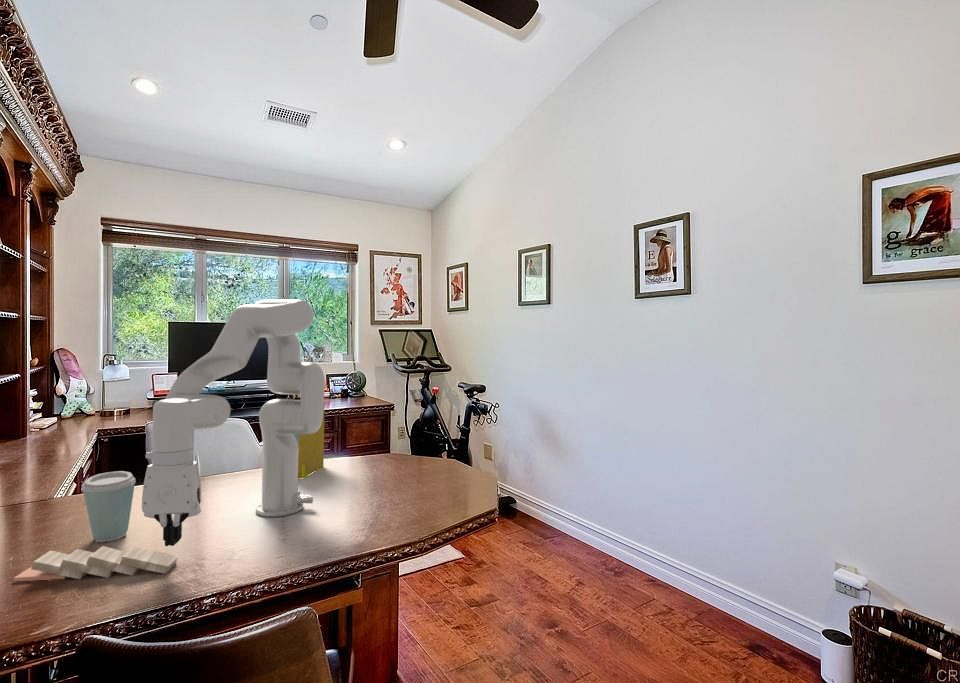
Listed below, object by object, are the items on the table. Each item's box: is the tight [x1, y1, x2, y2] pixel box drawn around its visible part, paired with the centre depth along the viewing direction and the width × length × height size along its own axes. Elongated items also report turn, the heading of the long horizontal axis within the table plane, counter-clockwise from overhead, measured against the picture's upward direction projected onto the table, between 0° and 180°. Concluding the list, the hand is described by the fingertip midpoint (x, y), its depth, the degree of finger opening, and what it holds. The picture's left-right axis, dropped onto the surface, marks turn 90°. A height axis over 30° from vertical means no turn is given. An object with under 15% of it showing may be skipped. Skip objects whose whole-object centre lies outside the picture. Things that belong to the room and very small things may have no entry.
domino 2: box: [31, 550, 88, 580], centre depth 102 cm, size 2×5×9 cm
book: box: [293, 404, 325, 479], centre depth 181 cm, size 17×7×25 cm, turn 168°
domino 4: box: [86, 545, 141, 577], centre depth 104 cm, size 2×5×9 cm
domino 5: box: [120, 546, 179, 575], centre depth 105 cm, size 2×5×9 cm
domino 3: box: [60, 548, 116, 578], centre depth 103 cm, size 2×5×9 cm
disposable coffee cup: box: [81, 470, 137, 543], centre depth 121 cm, size 11×11×15 cm
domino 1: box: [13, 566, 68, 582], centre depth 102 cm, size 2×5×9 cm
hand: (172, 543), depth 105 cm, fingers closed
